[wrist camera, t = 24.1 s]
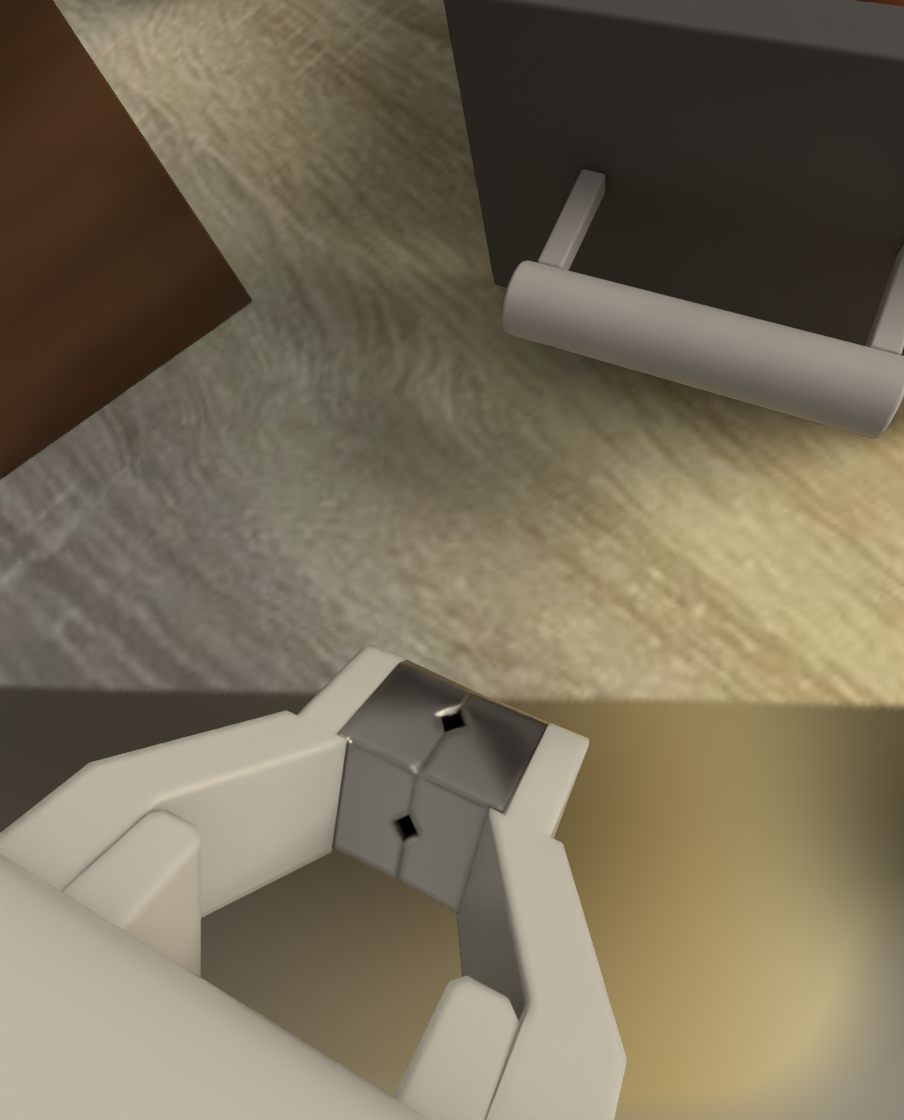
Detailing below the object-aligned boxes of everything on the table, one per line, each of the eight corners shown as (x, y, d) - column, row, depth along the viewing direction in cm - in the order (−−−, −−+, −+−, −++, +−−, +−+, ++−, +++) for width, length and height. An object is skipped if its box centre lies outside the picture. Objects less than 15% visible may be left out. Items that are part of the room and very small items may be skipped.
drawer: (925, 562, 18) (1208, 361, 10) (435, 403, 22) (342, 160, 14) (1097, 2, 22) (1401, -474, 14) (659, -51, 26) (693, -452, 18)
